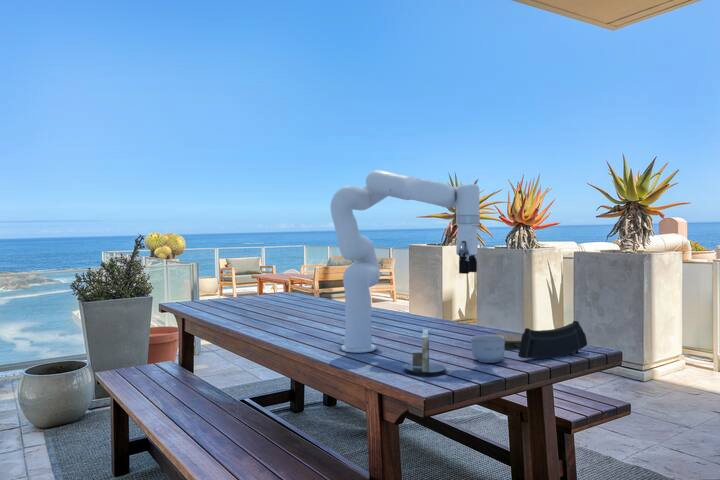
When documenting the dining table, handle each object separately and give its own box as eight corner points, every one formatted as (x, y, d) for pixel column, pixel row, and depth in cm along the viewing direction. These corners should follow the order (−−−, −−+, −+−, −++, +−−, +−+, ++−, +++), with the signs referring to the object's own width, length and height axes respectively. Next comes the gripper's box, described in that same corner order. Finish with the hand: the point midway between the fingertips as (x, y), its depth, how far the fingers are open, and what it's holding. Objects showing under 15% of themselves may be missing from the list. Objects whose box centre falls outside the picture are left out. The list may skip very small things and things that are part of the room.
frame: (411, 371, 145) (411, 337, 145) (413, 360, 159) (413, 329, 159) (428, 372, 144) (428, 337, 144) (429, 361, 158) (428, 329, 158)
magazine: (519, 335, 161) (579, 302, 175) (512, 333, 164) (571, 302, 178) (531, 384, 163) (589, 348, 177) (523, 381, 166) (581, 346, 180)
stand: (397, 370, 152) (397, 366, 152) (425, 364, 160) (425, 361, 160) (425, 378, 143) (425, 374, 143) (454, 372, 150) (454, 368, 150)
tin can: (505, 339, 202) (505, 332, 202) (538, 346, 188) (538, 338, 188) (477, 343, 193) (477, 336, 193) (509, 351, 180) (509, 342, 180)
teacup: (486, 366, 157) (486, 340, 157) (463, 359, 166) (463, 335, 167) (519, 361, 163) (519, 337, 163) (495, 355, 173) (495, 332, 173)
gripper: (464, 222, 176) (464, 271, 176) (449, 220, 161) (449, 273, 161) (485, 222, 173) (485, 271, 173) (472, 220, 158) (472, 274, 157)
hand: (468, 272), depth 167 cm, fingers open, 9 cm apart
